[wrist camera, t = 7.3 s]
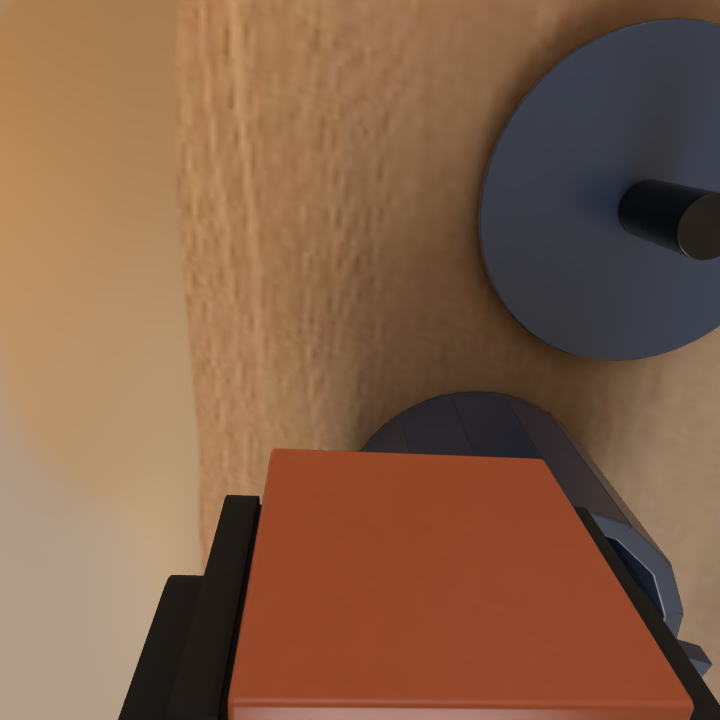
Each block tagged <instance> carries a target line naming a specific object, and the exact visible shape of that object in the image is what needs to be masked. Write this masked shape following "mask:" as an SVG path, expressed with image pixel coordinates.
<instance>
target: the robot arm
mask: <svg viewBox="0 0 720 720" xmlns="http://www.w3.org/2000/svg"><path fill="white" fill-rule="evenodd" d="M261 507H262V505H260V499H259V496H244V495H227V496H226V497H225V500H224V504H223V508H222V511H221V515H220V519H219V522H218V526H217V530H216V533H215V537H214V541H213V544H212V548H211V552H210V555H209V559H208V563H207V566H206V570H205V574H204V576H196V575H171V576H170V577H169V578H168V580H167V582H166V585H165V587H164V590H163V593H162V596H161V598H160V601H159V604H158V607H157V610H156V613H155V616H154V618H153V622H152V624H151V627H150V630H149V633H148V636H147V639H146V642H145V644H144V647H143V650H142V653H141V656H140V658H139V662H138V664H137V667H136V670H135V673H134V676H133V678H132V681H131V684H130V687H129V690H128V693H127V696H126V698H125V701H124V705H123V707H122V710H121V713H120V716H119V719H118V720H228V696H229V690H230V685H231V679H232V673H233V667H234V662H235V656H236V650H237V644H238V639H239V633H240V627H241V622H242V616H243V610H244V604H245V599H246V593H247V587H248V581H249V576H250V570H251V564H252V559H253V553H254V547H255V541H256V536H257V530H258V524H259V518H260V513H261ZM572 507H573V508H574V510H575V512H576V513H577V515H578V516H579V518H580V520H581V521H582V523H583V525H584V526H585V528H586V529H587V531H588V533H589V534H590V536H591V538H592V539H593V541H594V542H595V544H596V546H597V547H598V549H599V551H600V552H601V554H602V555H603V557H604V559H605V560H606V562H607V563H608V565H609V567H610V568H611V570H612V572H613V573H614V575H615V576H616V578H617V580H618V581H619V583H620V585H621V586H622V588H623V589H624V591H625V593H626V594H627V596H628V598H629V599H630V601H631V602H632V604H633V606H634V607H635V609H636V610H637V612H638V614H639V615H640V617H641V619H642V620H643V622H644V623H645V625H646V627H647V628H648V630H649V632H650V633H651V635H652V636H653V638H654V640H655V641H656V643H657V645H658V646H659V648H660V649H661V651H662V653H663V654H664V656H665V657H666V659H667V661H668V662H669V664H670V666H671V667H672V669H673V670H674V672H675V674H676V675H677V677H678V679H679V680H680V682H681V683H682V685H683V687H684V688H685V690H686V692H687V693H688V695H689V696H690V698H691V700H692V702H693V706H694V710H693V712H692V715H691V717H690V720H720V705H719V703H718V702H717V700H716V699H715V697H714V696H713V694H712V693H711V691H710V690H709V688H708V687H707V685H706V684H705V682H704V681H703V679H702V678H701V676H700V675H699V673H698V672H697V670H696V669H695V667H694V665H693V664H692V662H691V661H690V659H689V658H688V656H687V655H686V653H685V652H684V650H683V649H682V647H681V646H680V644H679V643H678V641H677V640H676V638H675V637H674V635H673V634H672V632H671V631H670V629H669V627H668V626H667V624H666V623H665V621H664V620H663V618H662V617H661V615H660V614H659V612H658V611H657V609H656V608H655V606H654V605H653V603H652V602H651V600H650V599H649V597H648V596H647V595H646V594H645V592H644V591H643V590H642V589H640V588H638V586H637V585H636V583H635V582H634V580H633V578H632V577H631V575H630V574H629V572H628V571H627V569H626V568H625V566H624V565H623V563H622V562H621V560H620V558H619V557H618V555H617V554H616V552H615V551H614V549H613V548H612V546H611V545H610V543H609V542H608V540H607V538H606V537H605V535H604V534H603V532H602V531H601V529H600V528H599V526H598V525H597V523H596V522H595V520H594V518H593V517H592V515H591V514H590V512H589V511H588V510H587V509H586V508H584V507H574V506H572Z"/></svg>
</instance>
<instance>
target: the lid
mask: <svg viewBox="0 0 720 720" xmlns="http://www.w3.org/2000/svg"><path fill="white" fill-rule="evenodd" d="M478 235H479V243H480V251H481V255H482V258H483V262H484V266H485V270H486V272H487V275H488V277H489V279H490V282H491V284H492V287H493V289H494V290H495V292H496V294H497V295H498V297H499V299H500V300H501V302H502V304H503V305H504V306H505V307H506V308H507V310H508V311H509V312H510V313H511V315H512V316H513V317H514V318H515V319H516V320H517V321H518V322H519V323H520V324H521V325H522V326H523V327H524V328H525V329H526V330H528V331H529V332H530V333H531V334H532V335H534V336H535V337H537V338H538V339H540V340H541V341H543V342H544V343H546V344H548V345H550V346H552V347H554V348H556V349H559V350H561V351H563V352H566V353H569V354H572V355H576V356H579V357H584V358H590V359H595V360H610V361H621V360H634V359H641V358H646V357H651V356H656V355H659V354H662V353H665V352H669V351H672V350H675V349H677V348H680V347H682V346H684V345H686V344H689V343H691V342H693V341H695V340H697V339H699V338H700V337H702V336H704V335H706V334H707V333H709V332H711V331H713V330H714V329H716V328H717V327H718V326H720V25H718V24H714V23H710V22H706V21H702V20H692V19H680V18H675V19H661V20H652V21H647V22H643V23H638V24H633V25H629V26H626V27H623V28H620V29H617V30H615V31H612V32H609V33H607V34H604V35H601V36H599V37H597V38H595V39H594V40H592V41H590V42H588V43H586V44H584V45H582V46H580V47H579V48H577V49H576V50H574V51H573V52H571V53H570V54H568V55H567V56H566V57H564V58H563V59H561V60H560V61H558V62H557V63H556V64H555V65H554V66H553V67H552V68H550V69H549V70H548V71H547V72H546V73H545V74H544V75H543V76H542V77H540V78H539V79H538V80H537V82H536V83H535V84H534V85H533V86H532V87H531V88H530V89H529V91H528V92H527V93H526V94H525V95H524V96H523V97H522V99H521V100H520V101H519V103H518V104H517V106H516V107H515V109H514V110H513V112H512V113H511V114H510V116H509V117H508V119H507V121H506V122H505V124H504V126H503V128H502V130H501V132H500V134H499V135H498V137H497V139H496V141H495V144H494V146H493V149H492V151H491V154H490V156H489V159H488V162H487V165H486V168H485V172H484V176H483V180H482V184H481V189H480V197H479V204H478Z"/></svg>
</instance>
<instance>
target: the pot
mask: <svg viewBox="0 0 720 720" xmlns="http://www.w3.org/2000/svg"><path fill="white" fill-rule="evenodd" d="M361 452H377V453H403V454H429V455H454V456H480V457H506V458H531V459H542V460H544V461H545V463H546V465H547V466H548V468H549V469H550V471H551V473H552V474H553V476H554V478H555V479H556V481H557V482H558V484H559V486H560V487H561V489H562V491H563V492H564V494H565V495H566V497H567V499H568V500H569V502H570V503H571V505H572V506H574V507H584V508H586V509H587V510H588V511H589V512H590V514H591V515H592V517H593V518H594V520H595V522H596V523H597V525H598V526H599V528H600V529H601V531H602V532H603V534H604V535H605V537H606V538H607V540H608V542H609V543H610V545H611V546H612V548H613V549H614V551H615V552H616V554H617V555H618V557H619V558H620V560H621V562H622V563H623V565H624V566H625V568H626V569H627V571H628V572H629V574H630V575H631V577H632V578H633V580H634V582H635V583H636V585H637V586H638V588H640V589H642V590H643V591H644V592H645V594H646V595H647V596H648V597H649V599H650V600H651V602H652V603H653V605H654V606H655V608H656V609H657V611H658V612H659V614H660V615H661V617H662V618H663V620H664V621H665V623H666V624H667V626H668V627H669V629H670V631H671V632H672V634H673V635H674V637H675V638H676V640H677V641H678V643H679V644H680V646H681V647H682V649H683V650H684V652H685V653H686V655H687V656H688V658H689V659H690V661H691V662H692V664H693V665H694V667H695V669H696V670H697V672H698V673H699V675H700V676H701V678H702V676H703V675H704V674H705V673H706V672H707V671H708V669H709V668H710V667H711V666H712V663H711V662H710V660H709V659H708V657H707V656H706V654H705V653H704V652H703V650H702V649H701V647H700V646H698V645H695V644H691V643H688V642H685V641H681V640H678V639H677V635H678V632H679V628H680V624H681V621H682V617H683V607H682V604H681V600H680V596H679V592H678V588H677V585H676V581H675V577H674V573H673V570H672V566H671V564H670V562H669V560H668V559H667V558H666V556H665V555H664V554H663V552H662V551H661V550H660V549H659V547H658V546H657V545H656V543H655V542H654V541H653V539H652V538H651V537H650V535H649V534H648V533H647V531H646V530H645V529H644V527H643V526H642V525H641V523H640V522H639V521H638V520H637V518H636V517H635V516H634V514H633V513H632V512H631V510H630V509H629V508H628V506H627V505H626V504H625V502H624V501H623V500H622V498H621V497H620V496H619V494H618V493H617V492H616V491H615V489H614V488H613V487H612V485H611V484H610V483H609V481H608V480H607V479H606V477H605V476H604V475H603V473H602V472H601V471H600V469H599V468H598V467H597V465H596V464H595V463H594V462H593V460H592V459H591V458H590V456H589V455H588V454H587V452H586V451H585V450H584V448H583V447H582V446H581V444H580V443H579V442H578V441H577V440H576V439H575V438H574V437H573V436H572V435H571V434H570V433H569V432H568V431H567V430H566V429H565V427H564V426H563V425H562V424H561V423H560V422H559V421H558V420H557V419H555V418H554V417H553V416H552V415H551V414H550V413H548V412H546V411H545V410H543V409H542V408H540V407H538V406H537V405H534V404H532V403H530V402H528V401H525V400H523V399H520V398H517V397H513V396H510V395H505V394H499V393H493V392H462V393H454V394H449V395H444V396H440V397H436V398H433V399H430V400H427V401H424V402H422V403H420V404H418V405H415V406H413V407H411V408H409V409H407V410H405V411H404V412H402V413H401V414H399V415H397V416H396V417H394V418H393V419H391V420H390V421H389V422H388V423H386V424H385V425H384V426H383V427H381V428H380V429H379V430H378V431H377V432H376V433H375V434H374V435H373V436H372V437H371V439H370V440H369V441H368V442H367V444H366V445H365V446H364V448H363V449H362V450H361Z"/></svg>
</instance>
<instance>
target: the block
mask: <svg viewBox="0 0 720 720" xmlns="http://www.w3.org/2000/svg"><path fill="white" fill-rule="evenodd" d="M693 710H694V706H693V702H692V700H691V698H690V696H689V695H688V693H687V692H686V690H685V688H684V687H683V685H682V683H681V682H680V680H679V679H678V677H677V675H676V674H675V672H674V670H673V669H672V667H671V666H670V664H669V662H668V661H667V659H666V657H665V656H664V654H663V653H662V651H661V649H660V648H659V646H658V645H657V643H656V641H655V640H654V638H653V636H652V635H651V633H650V632H649V630H648V628H647V627H646V625H645V623H644V622H643V620H642V619H641V617H640V615H639V614H638V612H637V610H636V609H635V607H634V606H633V604H632V602H631V601H630V599H629V598H628V596H627V594H626V593H625V591H624V589H623V588H622V586H621V585H620V583H619V581H618V580H617V578H616V576H615V575H614V573H613V572H612V570H611V568H610V567H609V565H608V563H607V562H606V560H605V559H604V557H603V555H602V554H601V552H600V551H599V549H598V547H597V546H596V544H595V542H594V541H593V539H592V538H591V536H590V534H589V533H588V531H587V529H586V528H585V526H584V525H583V523H582V521H581V520H580V518H579V516H578V515H577V513H576V512H575V510H574V508H573V507H572V505H571V503H570V502H569V500H568V499H567V497H566V495H565V494H564V492H563V491H562V489H561V487H560V486H559V484H558V482H557V481H556V479H555V478H554V476H553V474H552V473H551V471H550V469H549V468H548V466H547V465H546V463H545V461H544V460H542V459H531V458H506V457H480V456H454V455H429V454H403V453H377V452H352V451H326V450H300V449H273V450H272V452H271V455H270V461H269V467H268V473H267V478H266V484H265V490H264V496H263V501H262V507H261V513H260V518H259V524H258V530H257V536H256V541H255V547H254V553H253V559H252V564H251V570H250V576H249V581H248V587H247V593H246V599H245V604H244V610H243V616H242V622H241V627H240V633H239V639H238V644H237V650H236V656H235V662H234V667H233V673H232V679H231V685H230V690H229V696H228V720H690V717H691V715H692V712H693Z"/></svg>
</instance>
